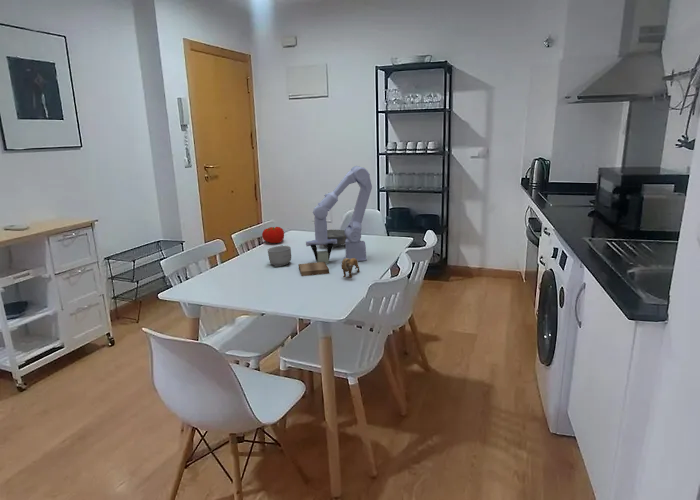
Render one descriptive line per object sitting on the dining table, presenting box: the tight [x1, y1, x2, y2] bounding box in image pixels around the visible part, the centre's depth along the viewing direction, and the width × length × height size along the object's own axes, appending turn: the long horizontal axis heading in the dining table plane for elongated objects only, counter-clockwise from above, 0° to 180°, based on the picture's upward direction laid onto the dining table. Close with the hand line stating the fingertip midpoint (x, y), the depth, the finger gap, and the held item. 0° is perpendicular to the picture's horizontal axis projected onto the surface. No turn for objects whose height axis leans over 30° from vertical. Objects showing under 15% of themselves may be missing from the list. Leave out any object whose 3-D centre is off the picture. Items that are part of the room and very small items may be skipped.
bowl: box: [323, 229, 347, 248], centre depth 246 cm, size 18×18×8 cm
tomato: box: [261, 226, 285, 244], centre depth 258 cm, size 14×13×9 cm
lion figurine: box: [341, 258, 360, 279], centre depth 196 cm, size 15×5×9 cm, turn 163°
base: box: [298, 261, 330, 277], centre depth 204 cm, size 12×12×2 cm
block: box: [316, 250, 330, 265], centre depth 216 cm, size 5×5×5 cm
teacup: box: [267, 244, 292, 267], centre depth 217 cm, size 14×11×8 cm
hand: (322, 259), depth 217 cm, fingers closed on block, 5 cm apart
